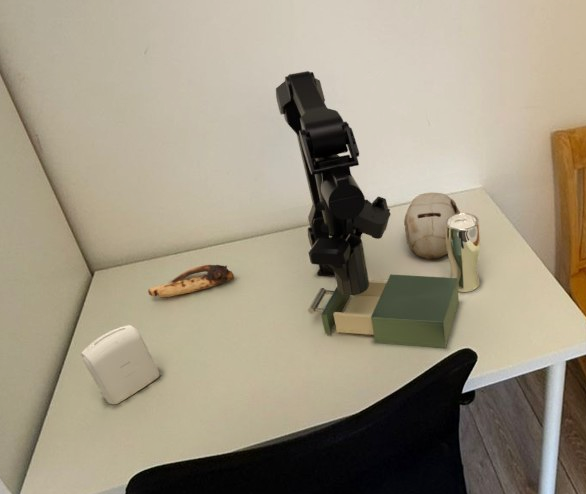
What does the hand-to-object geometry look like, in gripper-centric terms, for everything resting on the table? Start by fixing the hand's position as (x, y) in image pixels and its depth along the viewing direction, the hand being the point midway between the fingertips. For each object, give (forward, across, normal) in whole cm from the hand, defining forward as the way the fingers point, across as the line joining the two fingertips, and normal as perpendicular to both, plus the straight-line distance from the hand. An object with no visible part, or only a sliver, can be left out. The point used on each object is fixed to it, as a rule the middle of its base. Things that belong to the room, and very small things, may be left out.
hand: (350, 271), depth 116 cm
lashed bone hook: (+13, +10, +42) cm, 45 cm away
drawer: (+12, +3, +2) cm, 13 cm away
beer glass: (+13, +17, -18) cm, 28 cm away
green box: (+13, +3, -11) cm, 17 cm away
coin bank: (+13, +33, -8) cm, 36 cm away
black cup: (+3, 0, 0) cm, 3 cm away
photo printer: (+13, -22, +37) cm, 45 cm away
